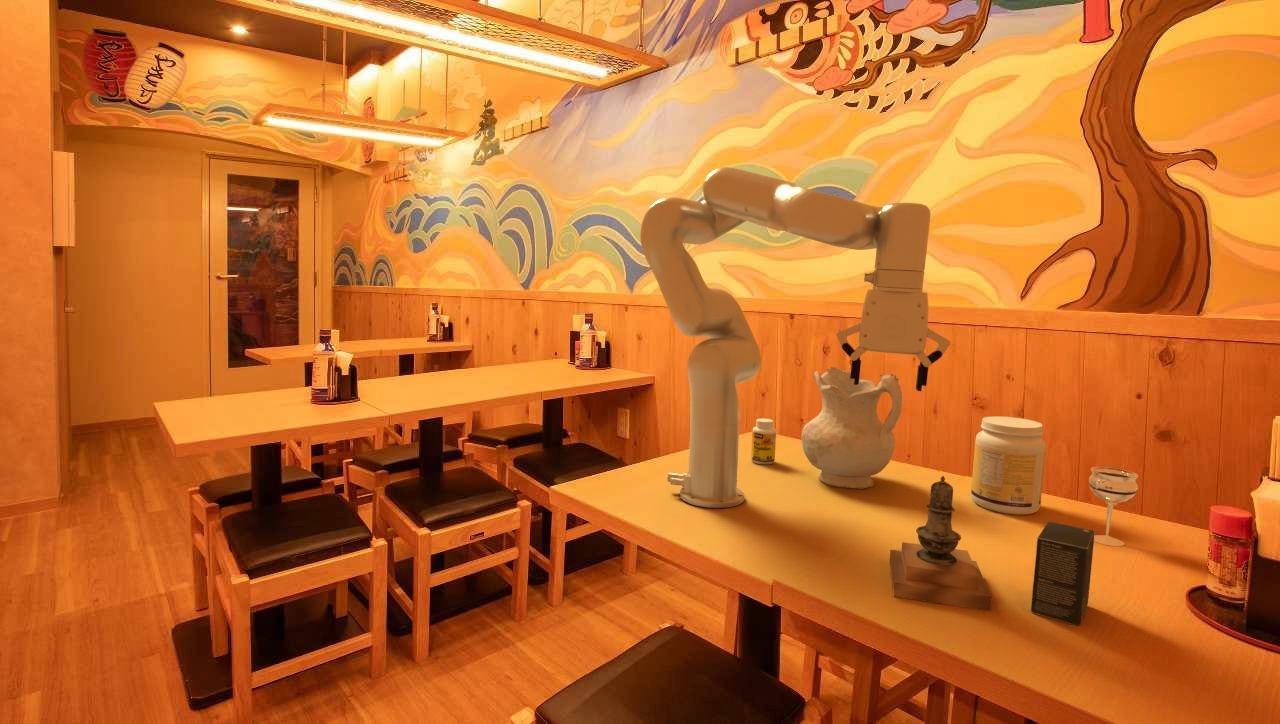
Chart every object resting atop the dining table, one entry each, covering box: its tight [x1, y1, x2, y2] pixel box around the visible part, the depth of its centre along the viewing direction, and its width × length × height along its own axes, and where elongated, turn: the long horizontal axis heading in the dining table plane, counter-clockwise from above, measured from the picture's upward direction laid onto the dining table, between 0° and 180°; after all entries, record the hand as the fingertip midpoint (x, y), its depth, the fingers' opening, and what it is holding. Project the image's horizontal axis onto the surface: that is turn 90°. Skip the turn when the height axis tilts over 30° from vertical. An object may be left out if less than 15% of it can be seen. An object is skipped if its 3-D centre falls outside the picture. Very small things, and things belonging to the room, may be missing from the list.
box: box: [1030, 521, 1095, 627], centre depth 89 cm, size 8×6×11 cm
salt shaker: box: [915, 475, 962, 565], centre depth 94 cm, size 6×6×12 cm
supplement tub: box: [970, 416, 1047, 516], centre depth 130 cm, size 12×12×17 cm
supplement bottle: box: [750, 418, 777, 466], centre depth 158 cm, size 6×6×10 cm
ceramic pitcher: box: [801, 366, 903, 490], centre depth 143 cm, size 22×20×25 cm
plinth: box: [888, 541, 993, 612], centre depth 95 cm, size 12×12×4 cm
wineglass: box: [1088, 466, 1139, 547], centre depth 113 cm, size 7×7×12 cm
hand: (887, 386), depth 110 cm, fingers open, 9 cm apart
